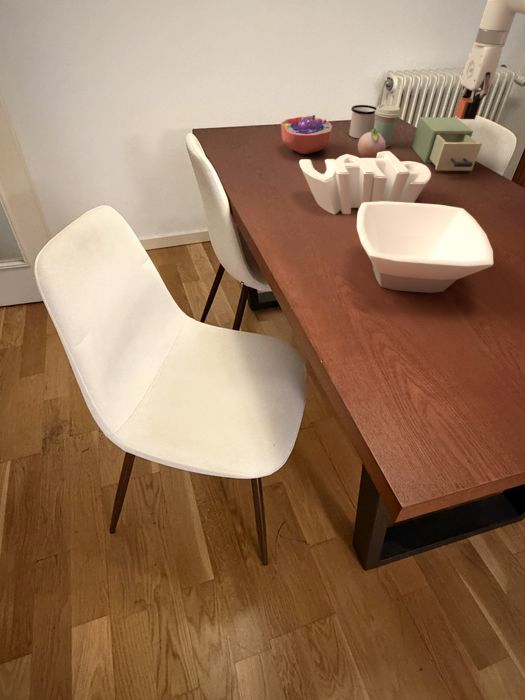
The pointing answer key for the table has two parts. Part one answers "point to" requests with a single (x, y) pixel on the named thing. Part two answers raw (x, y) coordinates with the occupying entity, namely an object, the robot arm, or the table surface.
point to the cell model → (305, 134)
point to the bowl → (421, 244)
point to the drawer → (454, 152)
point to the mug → (361, 120)
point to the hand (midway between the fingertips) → (465, 115)
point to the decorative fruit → (371, 144)
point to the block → (462, 107)
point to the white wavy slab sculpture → (364, 181)
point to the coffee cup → (386, 121)
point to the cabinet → (435, 126)
